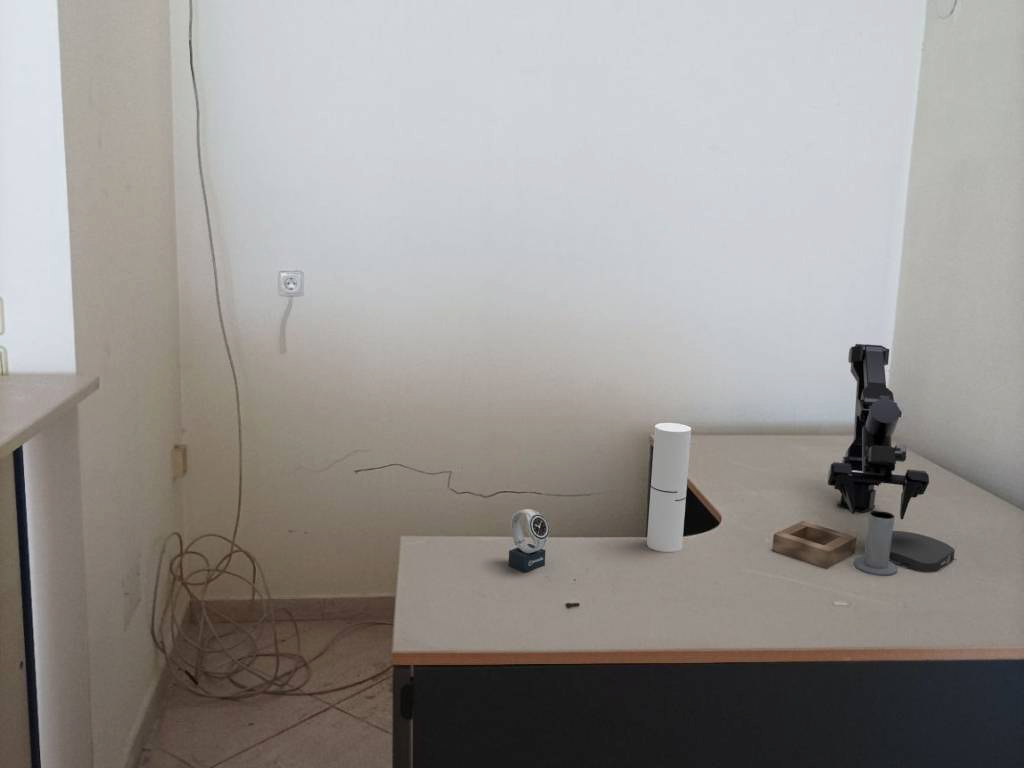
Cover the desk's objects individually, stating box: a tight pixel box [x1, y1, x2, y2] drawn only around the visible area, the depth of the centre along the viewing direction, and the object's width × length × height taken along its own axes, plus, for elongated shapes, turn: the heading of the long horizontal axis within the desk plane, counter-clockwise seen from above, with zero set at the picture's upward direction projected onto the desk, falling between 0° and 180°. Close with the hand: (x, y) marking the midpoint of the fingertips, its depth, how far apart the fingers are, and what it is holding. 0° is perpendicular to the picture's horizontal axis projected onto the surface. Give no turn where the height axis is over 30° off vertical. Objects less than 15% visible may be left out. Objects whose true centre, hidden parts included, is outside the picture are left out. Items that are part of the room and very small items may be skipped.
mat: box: [853, 555, 898, 577], centre depth 182 cm, size 8×8×1 cm
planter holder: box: [771, 520, 858, 569], centre depth 188 cm, size 12×12×4 cm
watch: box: [508, 508, 550, 574], centre depth 176 cm, size 6×8×11 cm
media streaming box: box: [889, 530, 956, 573], centre depth 189 cm, size 15×15×3 cm
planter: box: [863, 510, 895, 568], centre depth 181 cm, size 4×4×10 cm
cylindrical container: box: [646, 422, 692, 553], centre depth 187 cm, size 7×7×25 cm
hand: (877, 515), depth 185 cm, fingers open, 9 cm apart
